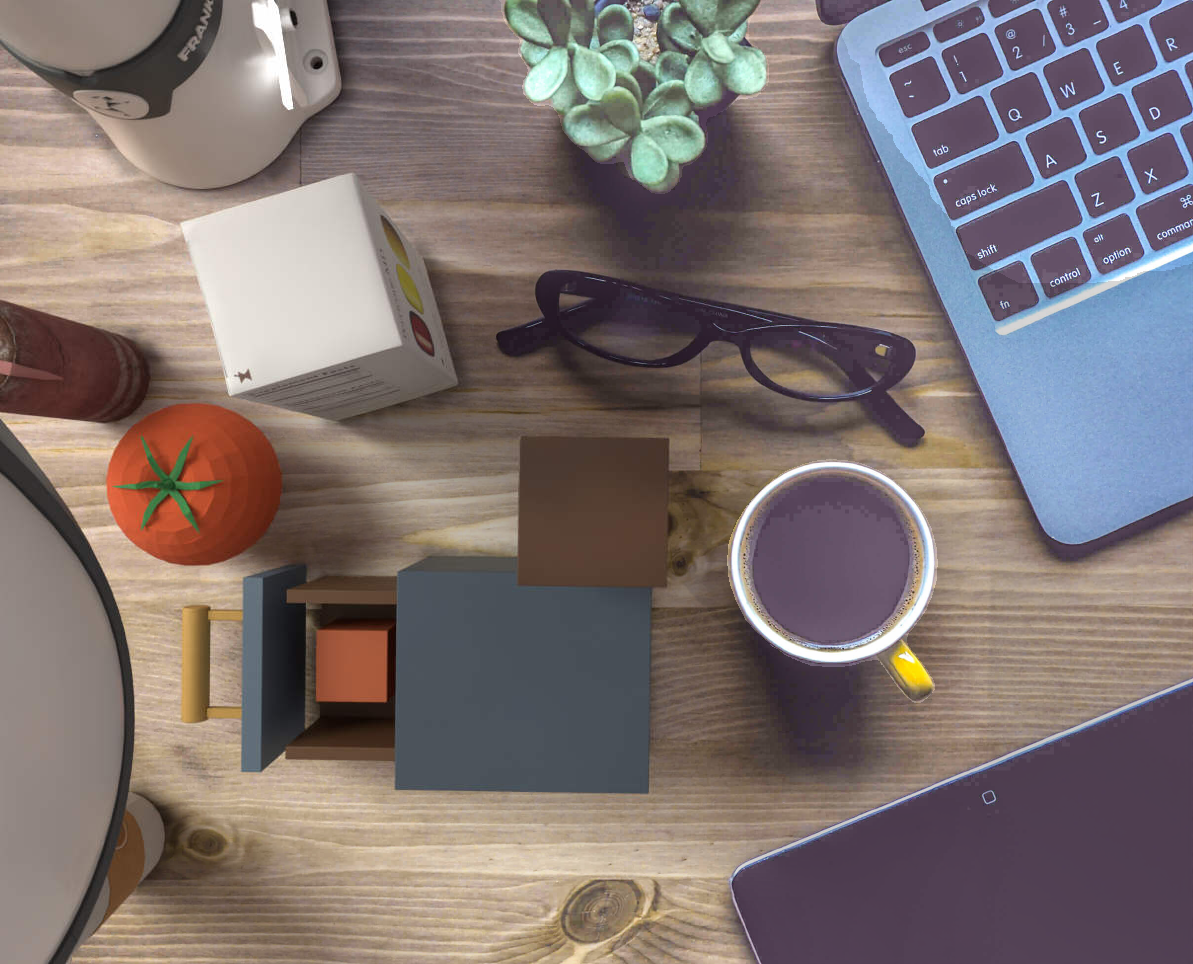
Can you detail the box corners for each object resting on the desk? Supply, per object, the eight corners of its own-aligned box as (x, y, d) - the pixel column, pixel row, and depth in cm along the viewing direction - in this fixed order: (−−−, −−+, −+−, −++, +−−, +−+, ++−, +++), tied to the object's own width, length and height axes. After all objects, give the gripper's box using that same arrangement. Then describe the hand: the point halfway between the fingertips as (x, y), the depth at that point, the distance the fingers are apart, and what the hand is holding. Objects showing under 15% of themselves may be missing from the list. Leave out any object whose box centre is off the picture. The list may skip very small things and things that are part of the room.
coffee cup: (206, 812, 61) (77, 922, 46) (144, 917, 61) (-5, 1061, 46) (100, 750, 61) (-63, 840, 46) (39, 855, 61) (-144, 979, 46)
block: (337, 618, 59) (315, 629, 54) (404, 619, 59) (388, 630, 54) (336, 685, 59) (315, 702, 54) (403, 685, 59) (387, 703, 54)
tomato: (201, 586, 61) (122, 608, 51) (125, 455, 61) (32, 452, 51) (331, 511, 61) (278, 518, 51) (255, 380, 61) (187, 362, 51)
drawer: (216, 732, 60) (158, 771, 52) (217, 562, 60) (160, 576, 52) (488, 736, 60) (471, 775, 52) (490, 566, 60) (474, 580, 52)
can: (148, 432, 61) (13, 419, 47) (57, 413, 61) (-106, 394, 47) (166, 344, 61) (36, 305, 47) (74, 325, 61) (-83, 280, 47)
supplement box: (462, 386, 61) (408, 353, 44) (331, 425, 61) (228, 406, 44) (422, 250, 61) (353, 164, 44) (291, 289, 61) (173, 218, 44)
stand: (552, 451, 61) (519, 435, 36) (641, 452, 61) (669, 437, 36) (551, 539, 61) (516, 585, 36) (639, 540, 61) (667, 588, 36)
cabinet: (426, 740, 61) (394, 790, 51) (428, 555, 61) (396, 571, 51) (641, 743, 61) (648, 794, 51) (643, 558, 61) (652, 574, 51)
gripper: (-215, 1576, 18) (139, 1097, 32) (-208, 562, 18) (145, 523, 32) (-526, 1569, 18) (-37, 1094, 32) (-522, 557, 18) (-32, 520, 32)
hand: (54, 805), depth 32 cm, fingers open, 8 cm apart
